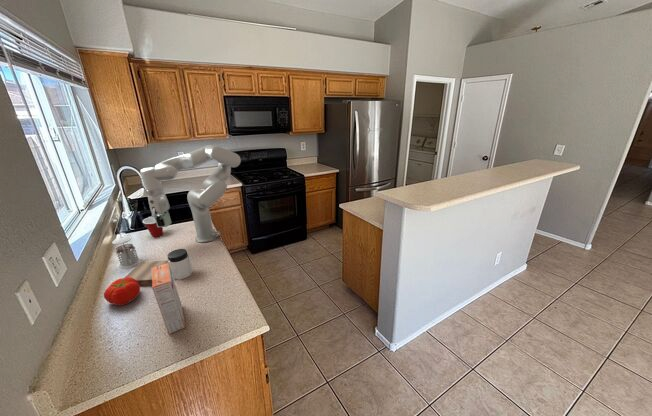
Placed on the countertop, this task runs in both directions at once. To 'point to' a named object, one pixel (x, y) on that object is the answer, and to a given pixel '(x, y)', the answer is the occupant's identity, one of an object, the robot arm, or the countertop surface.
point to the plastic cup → (153, 227)
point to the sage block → (165, 219)
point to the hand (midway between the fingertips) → (164, 223)
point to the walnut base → (144, 272)
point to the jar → (179, 263)
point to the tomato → (122, 291)
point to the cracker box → (167, 298)
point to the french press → (126, 251)
